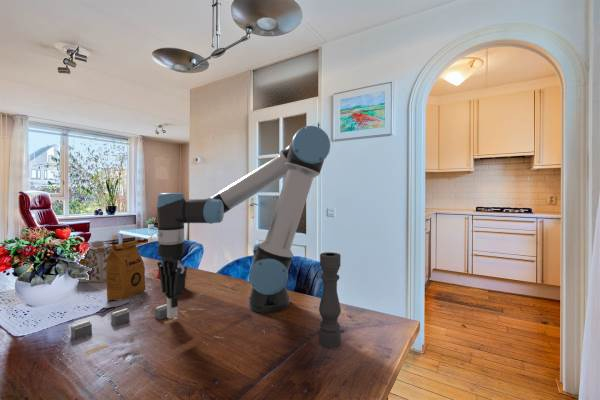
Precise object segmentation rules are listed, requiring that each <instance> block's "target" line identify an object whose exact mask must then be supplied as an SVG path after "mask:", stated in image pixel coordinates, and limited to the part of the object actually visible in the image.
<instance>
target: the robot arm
mask: <svg viewBox="0 0 600 400" xmlns="http://www.w3.org/2000/svg"><path fill="white" fill-rule="evenodd" d="M330 150H331V142H330V137H329V136H328V134H327V133H326V131H324V130H323V129H322V128H320V126H315V125H307V126H303V127H301V128H300V129H298V130H297V131H296V132H295V134H293V137H292V140H291V141H290V143H289V144H288V145H287V146H286V147H285V148H283V149H281V150H280V151H279V153H278V155H277V156H275V157H274V158H272V159H270V160H269V161H267V162H266V163H264V164H262V165H260V166H259V167H257V168H256V169H254V170H252V171H251V172H249V173H247V174H246V175H244V176H243V177H241V178H240V179H238V180H237V181H235V182H233V183H231V184H230V185H228V186H227V187H225V188H223V189H222V190H219V191H218V192H217V193H215V194H213V195H211V196H210V197H207V198H201V199H198V198H197V199H187V198H185V195H184V194H183V193H182V192H161V193H159V194H158V195H157V203H156V204H157V205H156V209H157V210H156V211H157V212H156V215H157V233H156V236H157V242H158V244H157V255H158V257H161V261H158V262H157V267H158V269H159V272H160V278H159V279H160V285H161V292H162V293H163V294H164V295H165V296H166V304H167V317H166V319H167V318H168V319H171V318H173V317H178V316H179V314H178V313H179V312H178V311H179V309H178V308H179V300H178V299H179V298H178V297H179V296H183V292H184V290H183V285H184V278H185V273H186V274H187V271H188V268H187V266H185V267H183V264H182V263H183V261H182V258H181V256H182V255H184V254H185V242H184V241H185V224H220V223H222V222H223V220H224V216H225V215H224V214H225V213H228V212H229V211H230V210H232V209H234V208H235V207H237V206H238V205H240V204H242V203H244V202H245V201H246V200H248V199H251V198H252V197H253V196H255V195H257V194H258V193H259V192H261V191H263V190H265V189H266V188H268V187H269V186H272V185H273V184H274V183H276V182H277V181H280V180H281V179H283V178H284V181H283V184H282V187H281V190H280V193H279V196H278V199H277V203H276V206H275V209H274V212H273V215H272V218H271V221H270V225H269V227H268V229H267V230H268V231H267V234H266V237H265V240H264V241H263V242H260V243H256V244H254V246H253V250H252V253H253V260H252V264H251V267H250V270H249V272H248V273H249V274H248V275H249V277H248V278H249V282H250V285H251V286H252V289H251V293H250V296H249V298H248V307H249V309H250V310H252V311H254V312H257V313H260V314H261V313H262V314H273V313H279V312H282V311H284V310H286V309H288V308H289V307H290V304H291V301H290V300H291V299H290V295H289V293H288V289H287V286H286V285H287V282H288V280H289V269H290V266H291V264H292V261H293V256H294V254H293V251H292V250H291V249H292V246H293V245H292V244H293V242H294V238H295V235H296V232H297V230H298V226H299V224H300V220H301V218H302V214H303V210H304V207H305V206H306V202H307V199H308V196H309V192H310V189H311V186H312V184H313V180H314V178H317V177H318V176H319V175H320V174H321V170H322V167H323V166H324V163H325V160H326V158H327V157H328V155H329V154H330ZM186 270H187V271H186Z"/></svg>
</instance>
